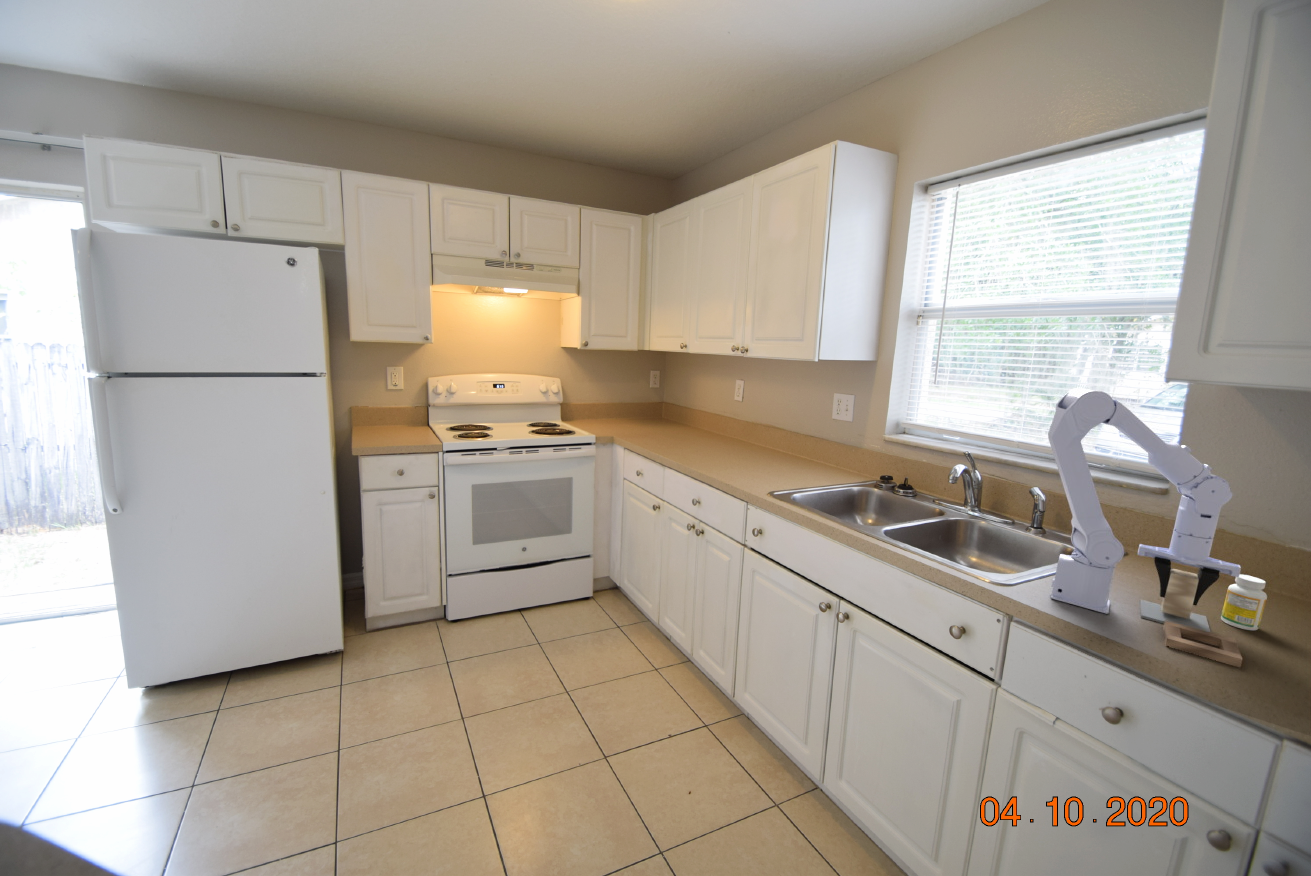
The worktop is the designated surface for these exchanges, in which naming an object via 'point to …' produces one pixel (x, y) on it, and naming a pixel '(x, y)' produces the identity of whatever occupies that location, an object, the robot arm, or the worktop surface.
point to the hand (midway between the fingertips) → (1177, 599)
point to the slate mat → (1172, 616)
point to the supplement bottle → (1244, 603)
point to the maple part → (1180, 593)
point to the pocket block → (1224, 654)
